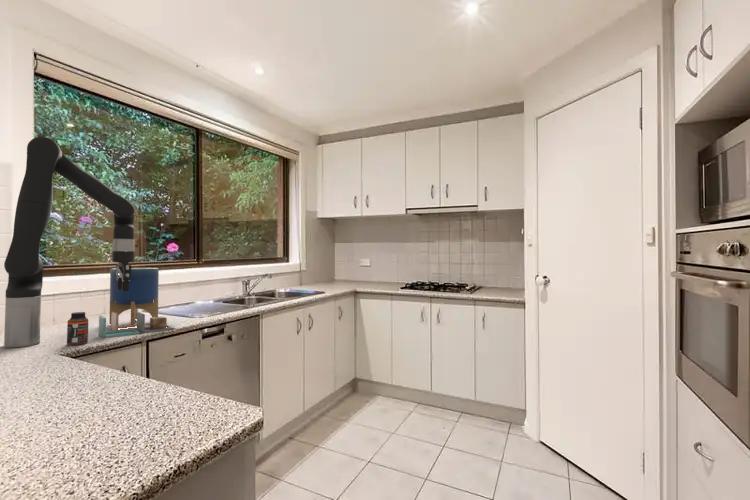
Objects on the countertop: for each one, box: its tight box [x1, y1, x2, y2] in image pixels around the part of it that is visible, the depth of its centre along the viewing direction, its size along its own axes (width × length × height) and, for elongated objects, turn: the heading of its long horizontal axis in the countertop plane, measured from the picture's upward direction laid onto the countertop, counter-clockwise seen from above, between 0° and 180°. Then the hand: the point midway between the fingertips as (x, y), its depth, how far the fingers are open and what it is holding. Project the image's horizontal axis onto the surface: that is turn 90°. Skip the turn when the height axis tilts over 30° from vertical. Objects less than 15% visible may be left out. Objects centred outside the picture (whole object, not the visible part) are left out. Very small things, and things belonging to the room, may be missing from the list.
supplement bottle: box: [66, 311, 89, 346], centre depth 133 cm, size 6×6×11 cm
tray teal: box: [98, 315, 140, 340], centre depth 148 cm, size 12×9×8 cm
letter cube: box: [149, 316, 168, 330], centre depth 158 cm, size 5×5×5 cm
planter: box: [108, 267, 160, 325], centre depth 174 cm, size 19×19×26 cm
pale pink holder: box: [110, 311, 150, 331], centre depth 159 cm, size 12×9×8 cm
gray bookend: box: [136, 311, 175, 334], centre depth 157 cm, size 12×9×8 cm
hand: (122, 290), depth 149 cm, fingers open, 8 cm apart
